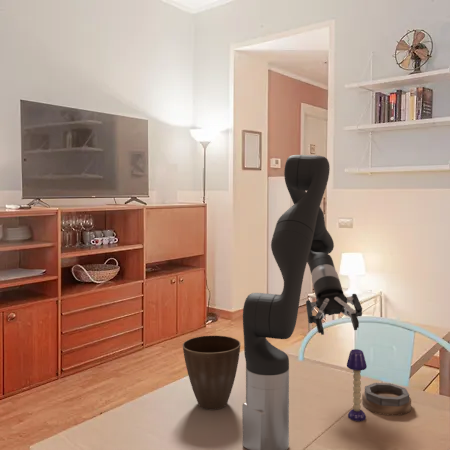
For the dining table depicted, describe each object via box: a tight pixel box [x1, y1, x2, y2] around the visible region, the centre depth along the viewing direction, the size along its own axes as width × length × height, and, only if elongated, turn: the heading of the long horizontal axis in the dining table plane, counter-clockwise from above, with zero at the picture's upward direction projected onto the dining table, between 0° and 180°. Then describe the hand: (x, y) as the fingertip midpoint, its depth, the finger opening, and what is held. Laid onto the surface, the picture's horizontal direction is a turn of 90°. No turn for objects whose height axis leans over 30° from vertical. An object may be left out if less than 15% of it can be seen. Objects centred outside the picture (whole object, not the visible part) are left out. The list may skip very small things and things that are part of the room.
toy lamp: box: [346, 348, 368, 422], centre depth 123 cm, size 5×5×17 cm
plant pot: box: [182, 335, 241, 411], centre depth 132 cm, size 15×15×16 cm
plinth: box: [361, 382, 412, 416], centre depth 131 cm, size 12×12×4 cm
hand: (339, 330), depth 131 cm, fingers open, 8 cm apart
